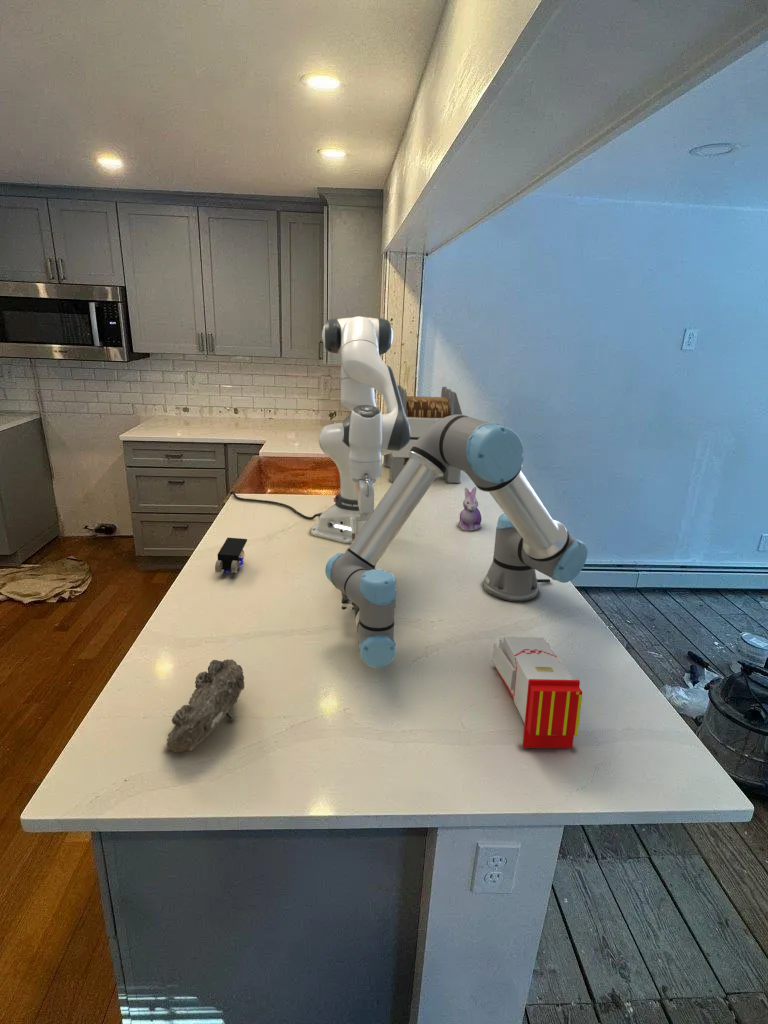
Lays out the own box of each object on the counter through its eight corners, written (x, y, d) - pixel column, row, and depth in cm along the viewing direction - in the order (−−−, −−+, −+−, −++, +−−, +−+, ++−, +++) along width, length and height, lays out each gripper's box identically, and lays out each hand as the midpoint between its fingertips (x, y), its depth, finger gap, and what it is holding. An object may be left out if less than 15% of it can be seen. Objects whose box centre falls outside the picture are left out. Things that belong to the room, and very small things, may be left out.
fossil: (192, 660, 117) (244, 628, 112) (224, 691, 120) (276, 661, 115) (142, 746, 98) (202, 712, 93) (182, 779, 101) (242, 748, 96)
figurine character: (238, 584, 162) (249, 557, 175) (236, 562, 158) (247, 536, 172) (215, 584, 161) (227, 556, 175) (212, 561, 158) (225, 535, 171)
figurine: (467, 533, 203) (471, 493, 198) (451, 523, 211) (454, 485, 206) (488, 529, 207) (492, 490, 202) (471, 520, 215) (475, 482, 210)
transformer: (382, 463, 289) (386, 382, 275) (445, 464, 293) (451, 384, 279) (390, 482, 257) (394, 392, 243) (460, 483, 261) (468, 394, 247)
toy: (540, 620, 128) (592, 687, 99) (535, 674, 131) (584, 755, 102) (487, 619, 128) (523, 686, 99) (483, 673, 131) (517, 754, 101)
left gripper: (381, 481, 140) (378, 532, 145) (372, 458, 159) (371, 504, 164) (355, 480, 139) (354, 532, 144) (350, 458, 158) (349, 504, 163)
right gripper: (332, 632, 132) (329, 586, 154) (409, 630, 134) (395, 585, 156) (332, 604, 129) (329, 561, 151) (411, 602, 132) (397, 560, 153)
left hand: (363, 517), depth 154 cm, fingers closed, pressing on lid
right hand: (363, 573), depth 153 cm, fingers closed on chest, 5 cm apart
